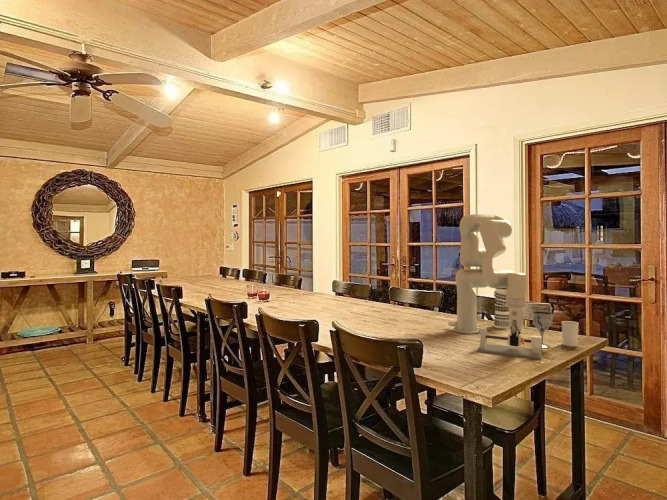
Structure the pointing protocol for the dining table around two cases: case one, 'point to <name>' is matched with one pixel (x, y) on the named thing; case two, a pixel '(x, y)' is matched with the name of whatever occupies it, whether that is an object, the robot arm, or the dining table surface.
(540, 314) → the wine glass
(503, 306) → the decorative candle
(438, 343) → the dining table surface
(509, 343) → the sleeve
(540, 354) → the board
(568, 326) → the beige cup
